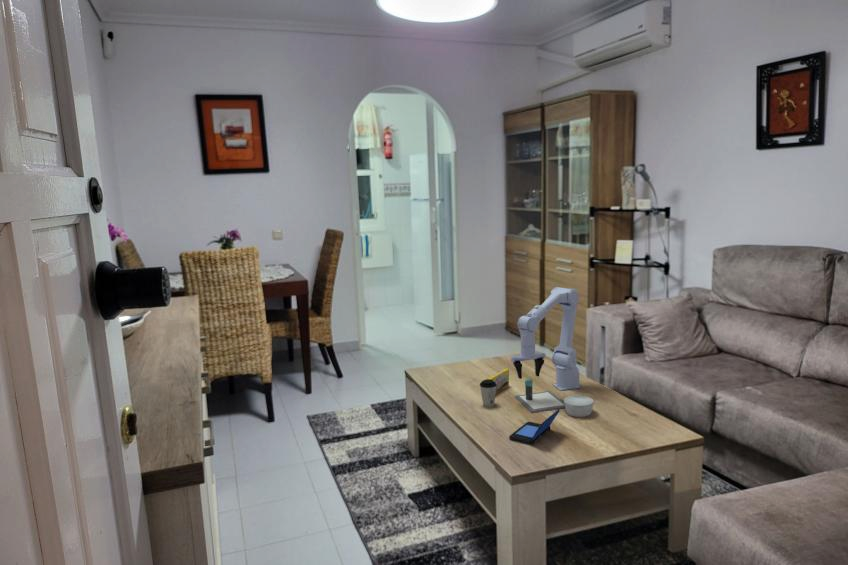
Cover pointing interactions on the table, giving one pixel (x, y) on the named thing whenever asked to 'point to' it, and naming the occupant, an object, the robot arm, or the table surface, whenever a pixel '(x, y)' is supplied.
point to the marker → (529, 389)
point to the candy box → (501, 380)
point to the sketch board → (541, 402)
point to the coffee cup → (488, 392)
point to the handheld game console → (532, 430)
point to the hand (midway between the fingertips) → (528, 376)
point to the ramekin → (578, 405)
